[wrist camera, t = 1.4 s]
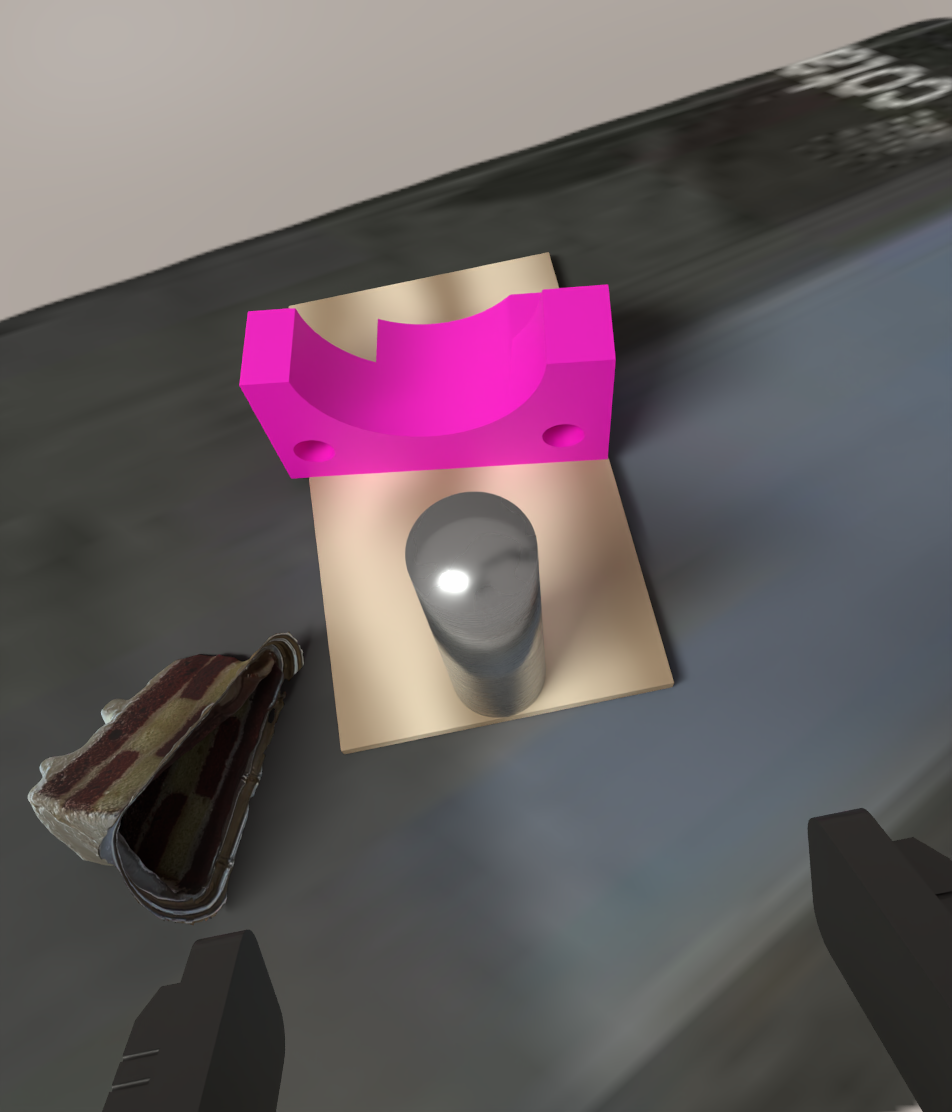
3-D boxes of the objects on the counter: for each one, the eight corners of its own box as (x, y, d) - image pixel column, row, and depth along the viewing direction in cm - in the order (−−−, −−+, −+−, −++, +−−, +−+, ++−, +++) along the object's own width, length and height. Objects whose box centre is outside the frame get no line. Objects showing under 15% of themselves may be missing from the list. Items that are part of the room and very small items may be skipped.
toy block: (597, 350, 44) (603, 238, 37) (607, 459, 42) (615, 359, 35) (300, 371, 45) (253, 265, 39) (291, 478, 43) (239, 385, 36)
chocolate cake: (179, 606, 42) (-65, 719, 32) (302, 619, 39) (76, 749, 29) (211, 786, 45) (-4, 945, 34) (328, 812, 41) (131, 994, 31)
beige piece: (548, 260, 48) (543, 37, 36) (672, 686, 37) (719, 561, 26) (291, 313, 48) (206, 107, 36) (344, 754, 37) (247, 659, 26)
